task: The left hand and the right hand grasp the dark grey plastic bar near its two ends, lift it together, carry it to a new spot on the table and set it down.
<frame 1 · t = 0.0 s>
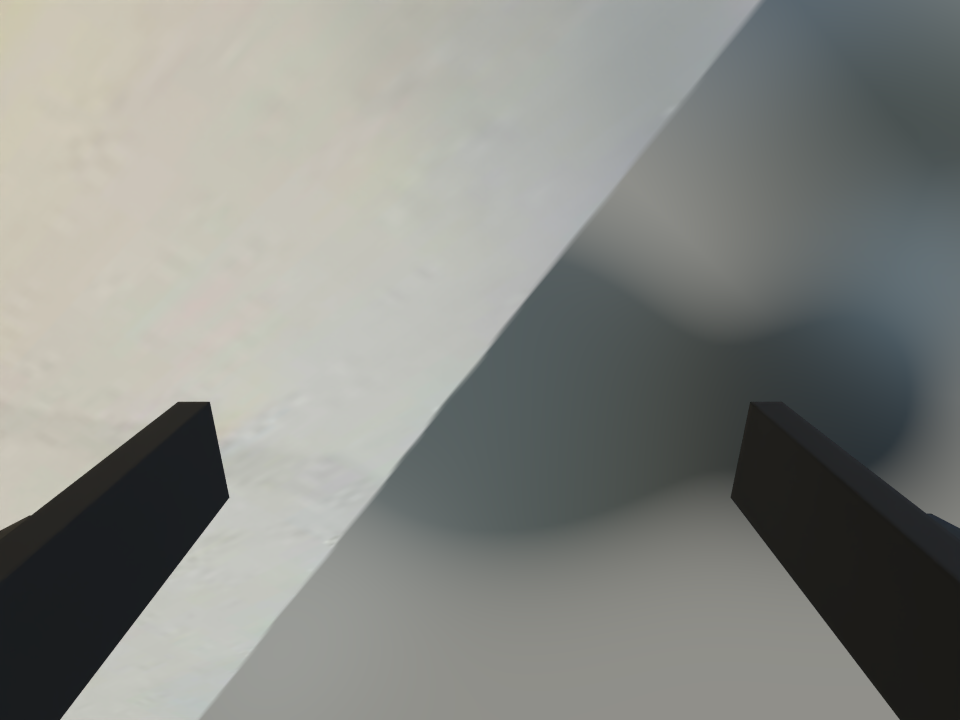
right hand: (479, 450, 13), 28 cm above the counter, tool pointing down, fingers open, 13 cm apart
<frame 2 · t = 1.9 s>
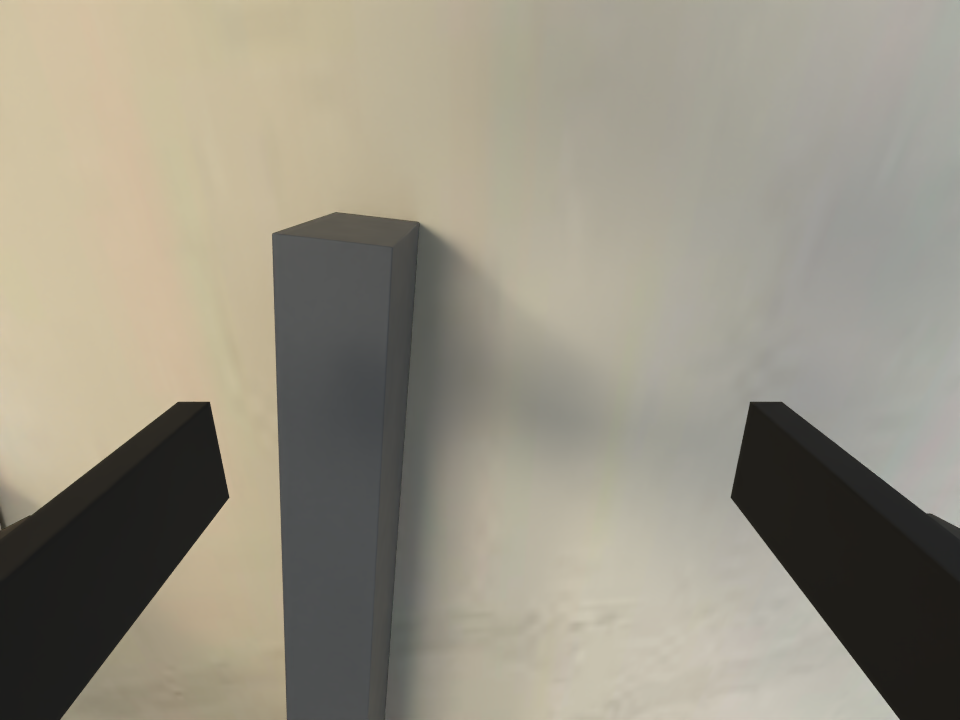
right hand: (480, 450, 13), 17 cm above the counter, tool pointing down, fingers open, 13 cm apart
bar: (361, 610, 37), on the counter
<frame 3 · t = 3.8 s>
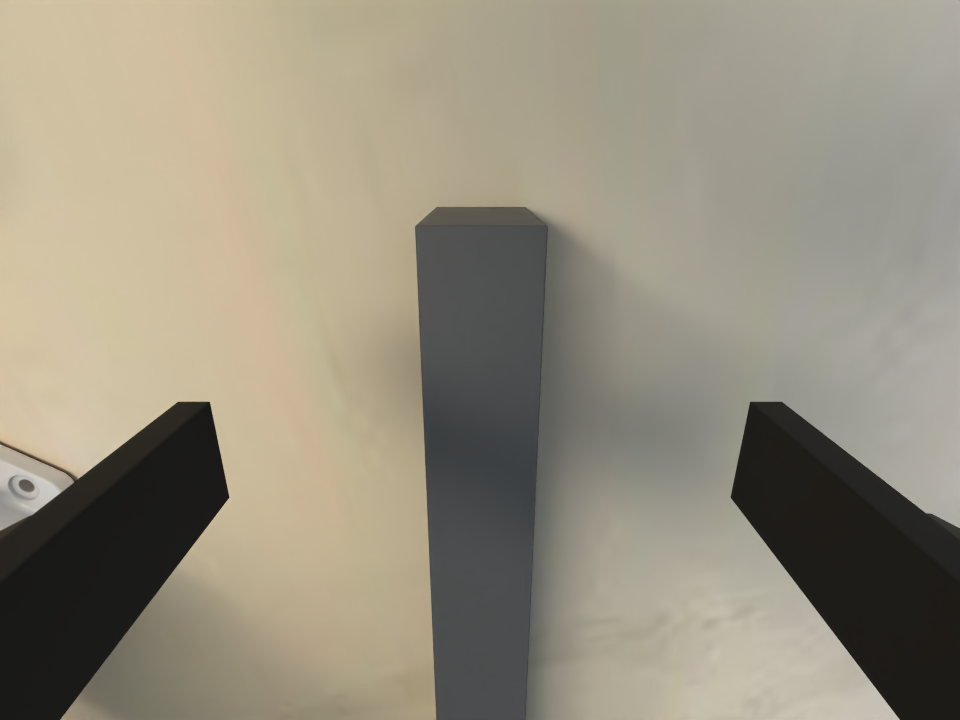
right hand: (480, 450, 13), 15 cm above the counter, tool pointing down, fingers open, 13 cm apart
bar: (480, 626, 35), on the counter, touching left hand
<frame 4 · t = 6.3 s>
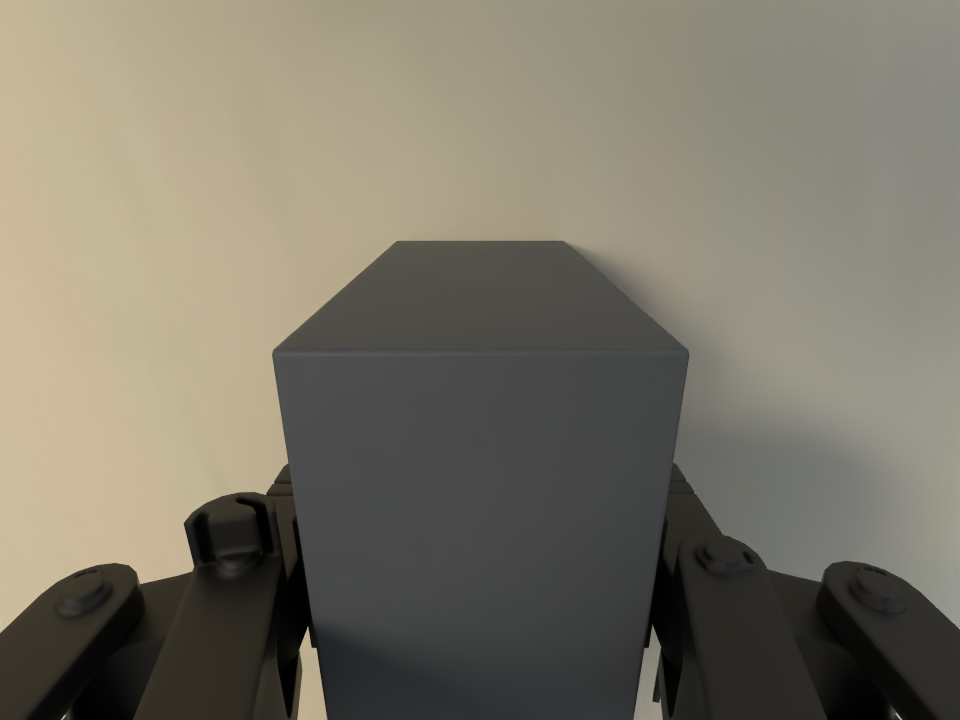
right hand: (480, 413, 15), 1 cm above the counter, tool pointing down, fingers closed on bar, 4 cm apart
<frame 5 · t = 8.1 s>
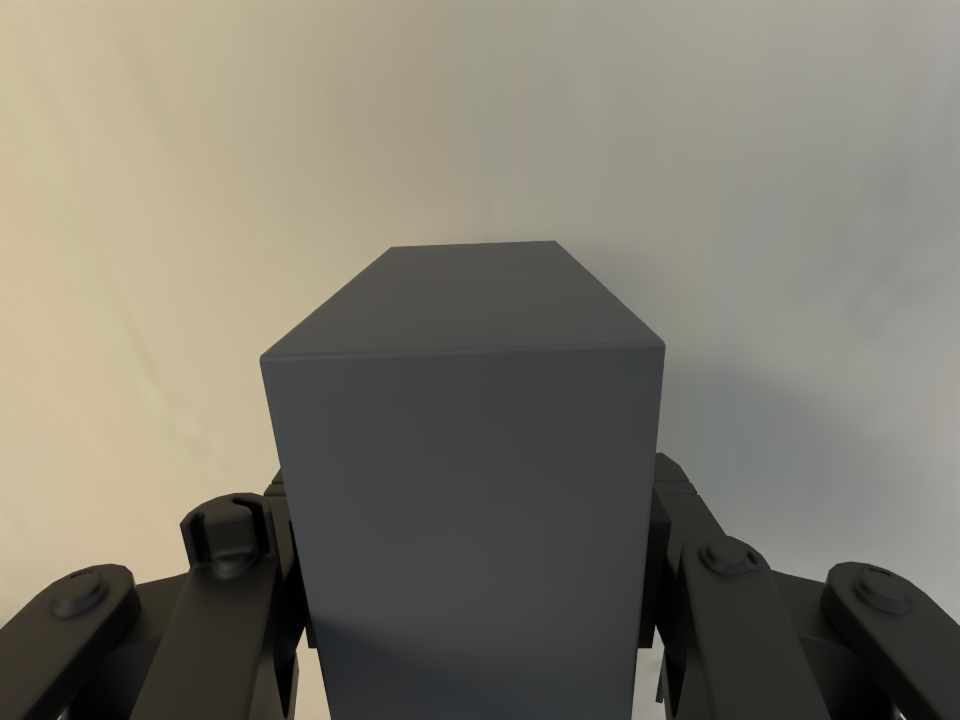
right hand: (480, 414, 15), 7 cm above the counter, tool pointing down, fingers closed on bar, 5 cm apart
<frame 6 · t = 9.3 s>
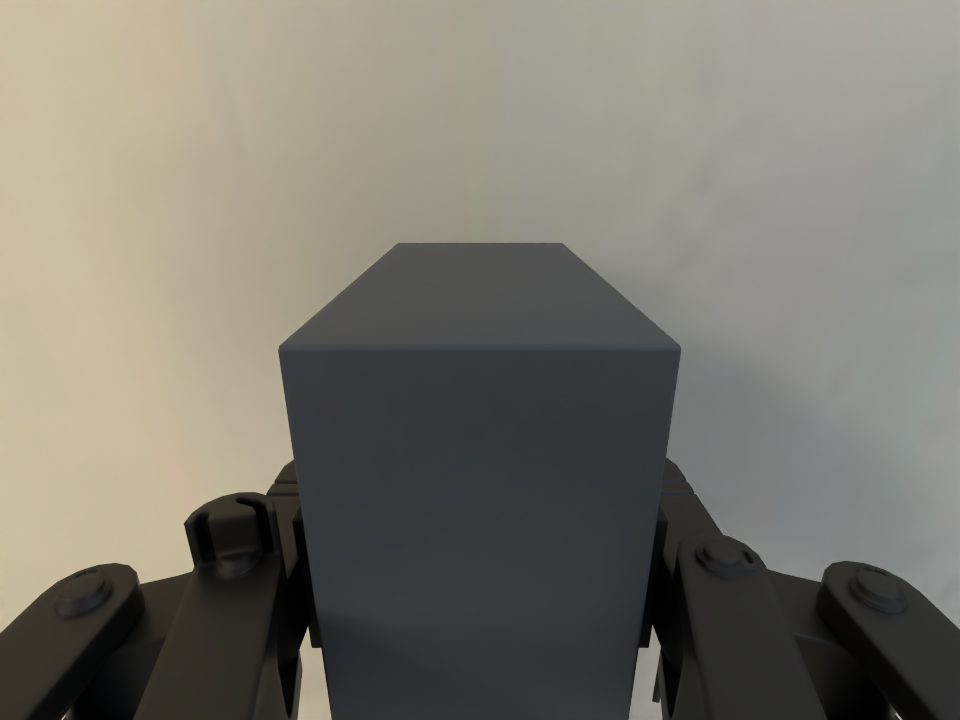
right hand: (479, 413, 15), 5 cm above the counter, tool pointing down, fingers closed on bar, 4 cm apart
when the right hand's fingers open (2 cm above the counter, at t = 9.9 s): bar drops 1 cm, on the counter.
when the left hand's fingers open (4 cm above the counter, at t = 10.1 s): bar stays where it is, on the counter.
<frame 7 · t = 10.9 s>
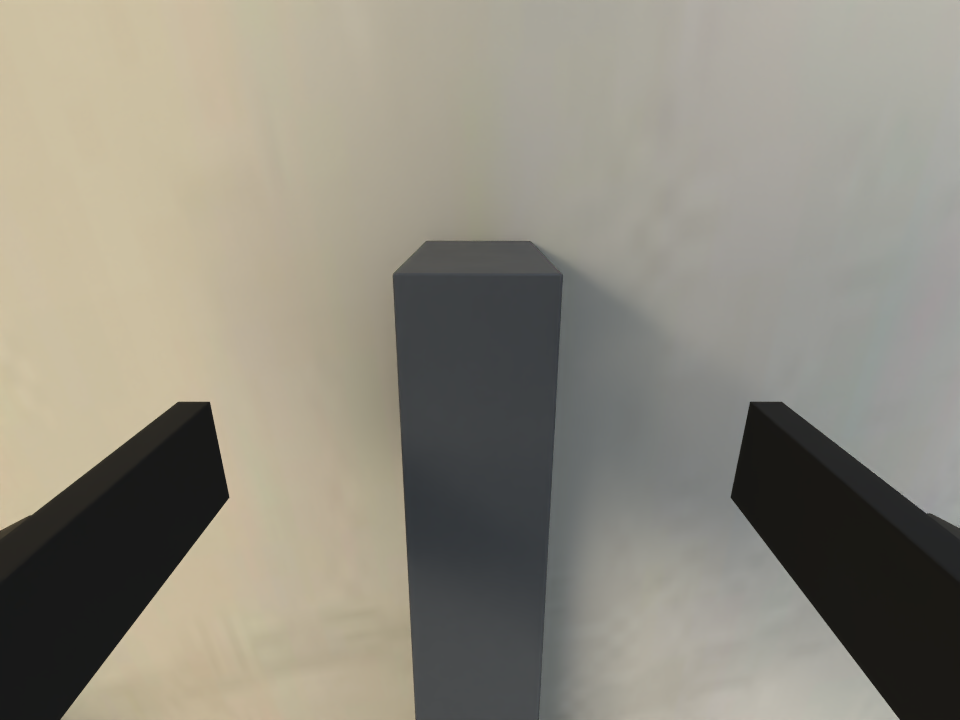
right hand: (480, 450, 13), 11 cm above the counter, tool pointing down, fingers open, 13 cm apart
bar: (477, 715, 30), on the counter
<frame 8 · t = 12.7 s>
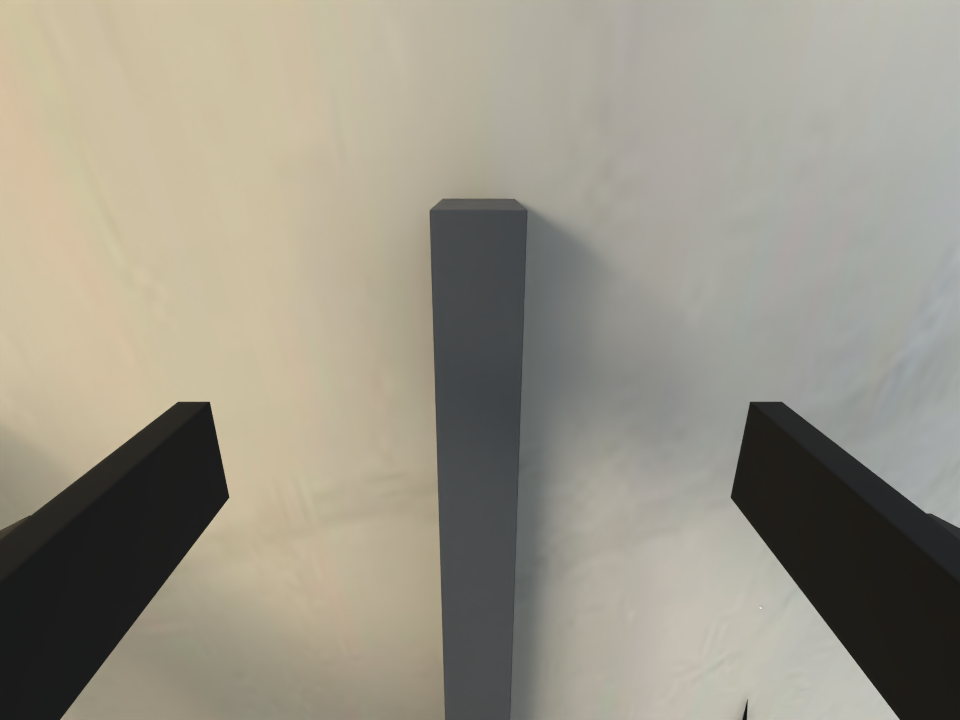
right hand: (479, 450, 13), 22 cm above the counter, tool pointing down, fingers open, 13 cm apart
bar: (478, 557, 41), on the counter
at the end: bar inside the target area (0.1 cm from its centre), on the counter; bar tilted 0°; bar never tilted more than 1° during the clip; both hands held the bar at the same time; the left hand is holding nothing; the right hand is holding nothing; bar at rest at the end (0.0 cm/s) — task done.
